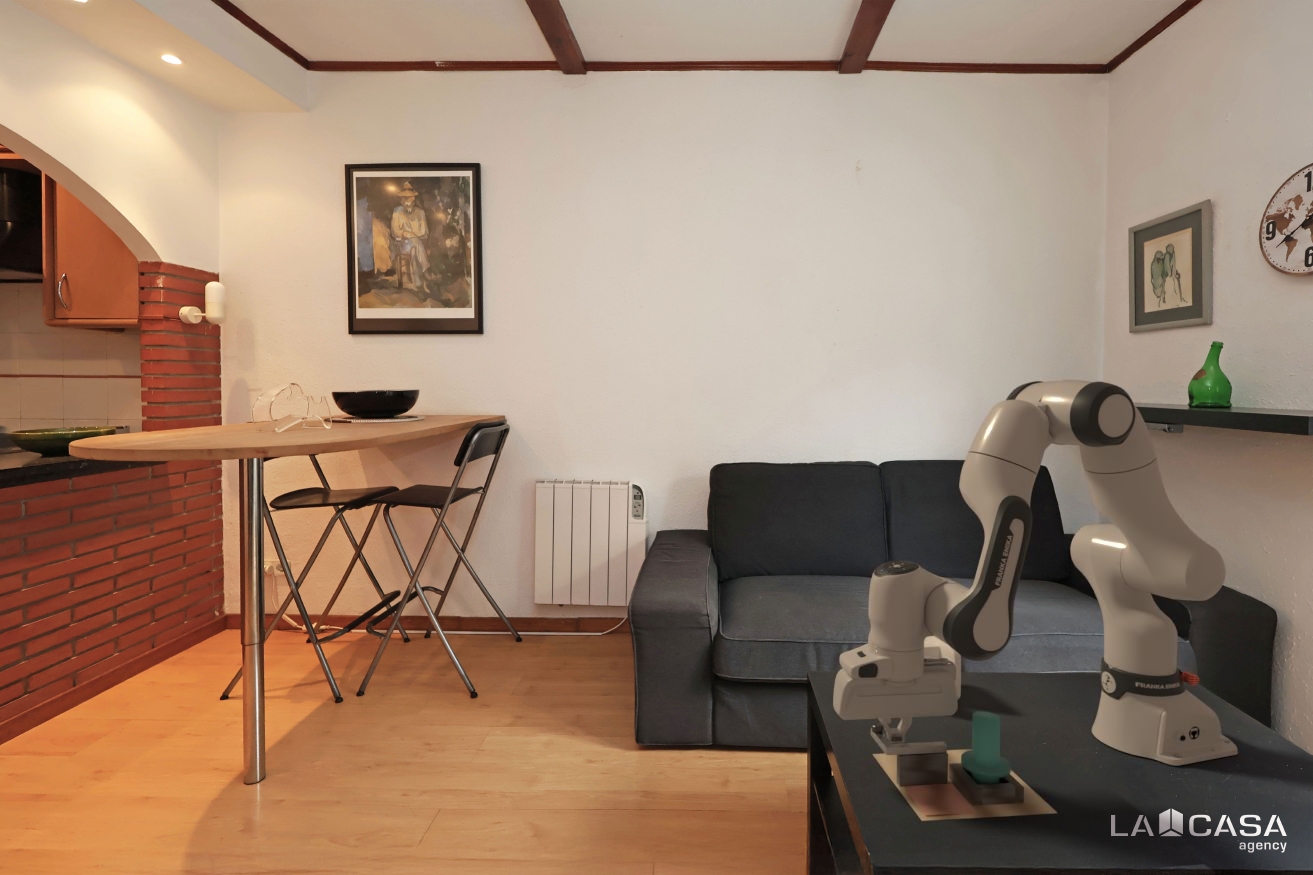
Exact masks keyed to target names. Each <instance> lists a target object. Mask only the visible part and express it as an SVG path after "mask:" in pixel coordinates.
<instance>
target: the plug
mask: <svg viewBox="0 0 1313 875" xmlns="http://www.w3.org/2000/svg"><path fill="white" fill-rule="evenodd" d="M971 723H972V724H971V725H972V730H971V731H972V732H971V734H972V736H971V737H972V738H971V749H972V750H970V751H966V752H964V753H963V754H962V755H961V764H962V766H963V767H964V768H965V769H967V770H968V771H970V772H972V779H973V780H974V781H975V782H976V783H977V784H978V785H981V784H999V778H1001V777H1005V776H1007V775H1009V774H1010V772H1011V770H1012V769H1011V768H1012V765H1011V762H1010V761H1009V760H1008V759H1007V758H1006V757H1004V756H1002V755H1001V750H1000V749H1001V746H1000V745H1001V718H1000V716H999V715H997V714H995V713H993V712H991V711H990V712H989V711H984V710H983V711H979V710H978V711H975V712H973V713H972V721H971Z"/></svg>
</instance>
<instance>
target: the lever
mask: <svg viewBox="0 0 1313 875" xmlns="http://www.w3.org/2000/svg"><path fill="white" fill-rule="evenodd" d="M870 736H871V737H872V738H873V740H874V741H875V743H877V745H878V747H879V748H880V749H881V750H882V751H883V754H886V755H901V754H921V753H941V752H947V750H948V744H946V742H945V741H944V740H943V741H926V742H925V741H924V742H922V741H921V742H906V743H905V742H901V743H891V742H890V741H889V740H888V738H887V737H886V736H885V732H884V728H883V726H882V724H881V723H880V722H879V723H878V722H873V723H871V727H870Z"/></svg>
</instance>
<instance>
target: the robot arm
mask: <svg viewBox="0 0 1313 875" xmlns="http://www.w3.org/2000/svg"><path fill="white" fill-rule="evenodd" d="M971 442H972V443H971V445H970V448H969V450H968V452H967V454H966V457H965V460H964V462H963V463H962V464H963V465H962V467H961V468H962V469H961V472H960V477H959V483H958V484H959V488H958V489H959V491H960V493H961V496H962V498H963V500H964V502H965V503H966V504H967V505H968V507H969V508H970V509H971V510H972V511H973V512H974V514H975V516H977V517H978V519H979V521H980V523H981V524H982V527H983V531H984V541H983V546H982V550H981V554H980V558H979V560H978V566H977V570H976V573H975V575H974V580H973V583H972V586H971V587H967V586H965V585H963V584H961V583H959V582H956V581H954V580H951V579H949V578H946V577H942V576H939V575H937V574H934V573H932V572H930V571H928V570H926V569H925V568H923V567H922V566H921V565H920V564H918V563H917V562H914V561H910V560H892V561H887V562H884V563H882V564H880V565H878V566H877V567H876V568H875V569H874V571H873V573H872V575H871V579H870V584H869V592H868V595H869V596H868V611H867V612H868V613H867V614H868V619H869V622H870V631H869V633H868V638H867V642H868V643H865V644H863V645H861V646H858V647H856V648H853V649H850V650H847V651H844V652H842V653H841V654H840V655H839V658H838V659H839V664H840V666H841V667H842V668H841V669H840V670H839V671H837V673H836V677H835V680H834V687H833V694H832V695H833V698H832V700H833V701H832V703H833V704H832V705H833V710H834V712H835V713H836V714H837V715H838V716H839V717H840V718H841V719H842V720H844V721H849V720H850V721H852V720H872V719H874V720H875V719H878V721H879V723H880V724H882V726H883V730H884V735H885V736H886V737H887V738H888V740H889V741H890V742H891V743H892V744H894V743H905V742H906V733H907V732H908V730H909V728H910V727H911V726H912V724H913V718H915V717H916V718H917V717H918V718H919V717H921V718H923V717H940V716H941V717H942V716H944V717H945V716H953V715H954V714H955V713H956V712H957V711H958V705H959V704H958V699H957V692H956V686H955V680H956V666H955V664H954V663H953V662H952V661H949V660H948V659H947V658H939V659H932V658H924V640H925V638H926V637H929V636H935V637H936V638H938V639H940V640H941V641H943V642H945V643H946V644H948V645H949V646H950V647H951V648H952V649H954V650H955V651H956V652H957V653H959V654H960V655H961V657H963V658H965V659H967V660H968V661H969V660H970V661H974V662H982V661H987V660H989V659H992V658H994V657H996V656H998V654H1000V653H1002V651H1003V650H1004V649H1005V648H1006V647H1007V646H1008V644H1009V642H1010V640H1011V638H1012V634H1013V631H1014V630H1013V629H1014V608H1015V607H1014V606H1015V600H1016V595H1017V592H1018V586H1019V584H1020V579H1021V575H1022V571H1023V568H1024V564H1025V563H1024V562H1025V559H1026V555H1027V551H1028V546H1029V543H1030V538H1031V533H1032V528H1033V512H1032V509H1031V499H1032V492H1033V488H1034V485H1035V481H1036V478H1037V476H1038V473H1039V471H1040V468H1041V465H1042V461H1043V458H1044V454H1045V451H1046V450H1047V449H1048V447H1049V446H1050V445H1059V446H1065V445H1069V446H1079V452H1080V459H1081V463H1082V467H1083V470H1084V475H1085V479H1086V483H1087V487H1088V488H1087V489H1088V491H1089V495H1090V499H1091V502H1092V504H1093V507H1094V508H1095V510H1096V511H1097V512H1098V513H1099V514H1100V515H1101V516H1102V517H1104V518H1106V520H1109V521H1110V522H1111V523H1098V524H1097V523H1096V524H1095V523H1094V524H1087V525H1084V526H1082V527H1081V528H1080V529H1079V530H1077V531H1076V533H1075V534H1074V535H1073V538H1072V541H1071V544H1070V549H1069V550H1070V557H1071V561H1072V562H1073V565H1074V567H1075V568H1076V569H1078V571H1079V572H1080V573H1081V574H1082V575H1083V576H1084V577H1085V579H1086V580H1087V581H1088V583H1089V584H1090V586H1091V588H1092V589H1093V591H1094V592H1093V593H1094V594H1095V597H1096V599H1097V601H1098V604H1099V607H1100V611H1101V616H1102V620H1103V623H1102V624H1103V656H1102V658H1101V659H1100V674H1099V675H1100V677H1099V678H1100V685H1101V692H1100V693H1101V694H1100V699H1099V704H1098V708H1097V709H1098V710H1097V712H1096V717H1095V720H1094V722H1093V724H1092V727H1091V733H1092V734H1093V736H1094V737H1095V738H1096V739H1097V740H1099V741H1100V742H1102V743H1103V744H1105V745H1106V746H1109V747H1111V748H1112V749H1115V750H1117V751H1120V752H1122V753H1127V754H1130V755H1134V756H1138V757H1143V758H1148V759H1152V760H1156V761H1158V762H1162V763H1163V764H1166V765H1170V766H1178V767H1179V766H1183V765H1189V764H1194V763H1200V762H1204V761H1210V760H1215V759H1220V758H1224V757H1229V756H1236V755H1238V754H1239V750H1238V747H1237V745H1236V744H1235V743H1234V742H1233V741H1232V739H1229V738H1228V737H1226V736H1225V735H1224V734H1222V728H1221V723H1220V720H1219V717H1218V715H1217V713H1216V712H1215V711H1214V710H1213V709H1212V708H1211V707H1210V706H1208V705H1207V704H1205V702H1203V701H1202V700H1200V699H1199V698H1198V697H1196V696H1195V695H1194V694H1192V693H1191V692H1190V691H1189V690H1187V689H1186V686H1185V684H1184V683H1187V684H1188V685H1190V686H1193V687H1195V686H1197V685H1198V684H1199V683H1200V677H1199V676H1198V675H1197V674H1195V673H1192V671H1182V670H1181V669H1180V668H1178V667H1177V665H1178V664H1177V663H1178V662H1177V658H1178V630H1177V628H1176V625H1175V623H1174V622H1173V620H1172V619H1171V618H1170V617H1169V616H1168V615H1166V614H1165V613H1164V612H1163V611H1162V610H1161V609H1160V607H1159V606H1158V605H1157V604H1156V602H1155V601H1154V598H1153V596H1152V595H1156V596H1159V597H1164V598H1168V599H1171V600H1182V601H1195V602H1196V601H1198V602H1199V601H1201V602H1202V601H1207V600H1209V599H1211V598H1212V597H1214V596H1215V595H1217V593H1218V592H1219V591H1220V589H1221V588H1222V587H1223V585H1224V583H1225V580H1226V573H1227V572H1226V571H1227V570H1226V565H1225V562H1224V559H1223V557H1222V554H1220V552H1219V551H1218V550H1217V548H1215V547H1214V546H1212V545H1210V544H1209V543H1207V542H1206V541H1204V540H1203V539H1202V538H1200V537H1199V535H1197V534H1196V533H1195V532H1194V531H1193V530H1192V529H1191V528H1190V527H1189V526H1188V524H1186V522H1185V521H1184V520H1183V519H1182V518H1181V516H1180V515H1179V513H1178V512H1177V510H1176V509H1175V507H1174V506H1173V504H1172V503H1171V500H1170V499H1169V497H1168V495H1167V492H1166V489H1165V486H1164V482H1163V478H1162V475H1161V470H1160V466H1159V464H1158V460H1157V455H1156V451H1155V450H1156V449H1155V447H1154V444H1153V440H1152V436H1151V434H1150V431H1149V429H1148V427H1147V425H1146V423H1145V420H1144V418H1143V415H1142V414H1141V412H1140V410H1139V409H1138V407H1136V405H1135V404H1134V402H1133V400H1132V398H1131V396H1130V394H1129V393H1128V392H1127V391H1126V390H1125V389H1124V388H1122V387H1120V386H1119V385H1116V384H1113V383H1110V382H1105V381H1088V380H1087V381H1086V380H1079V379H1062V380H1051V381H1041V380H1040V381H1039V380H1034V381H1031V382H1027V383H1023V384H1021V385H1018V386H1017V387H1016V388H1014V389H1013V390H1012V391H1011V392H1010V393H1009V394H1008V396H1007V398H1006V399H1005V400H1001V401H1000V402H997V403H996V404H995V405H994V406H993V407H991V409H990V411H989V413H988V414H987V415H986V417H985V418H984V419H983V422H982V423H981V425H980V426H979V429H978V430H977V433H976V434H975V436H974V439H973V440H972V441H971ZM948 663H950V664H948ZM893 718H900V721H899V723H898V724H897V727H890V726H889V725H891V723H892V719H893Z"/></svg>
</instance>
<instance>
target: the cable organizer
mask: <svg viewBox="0 0 1313 875" xmlns="http://www.w3.org/2000/svg"><path fill="white" fill-rule="evenodd" d="M924 658H932V659H939V658H947V659H948V660H949V661H952V662H953V663H954V664H955V666H956V680H955V686H956V692H957V700H959V699H960V698H961V692H962V691H961V690H962V688H961V686H962V682H961V681H962V656H961V655H960V654H959V653H957V652H956V651H955V650H954V649H952V648H951V647H950V646H949V645H948V644H946V643H945V642H943V641H941V640H940V639H938V638H936V637H935V636H929V637H926V638H925V640H924ZM948 664H950V663H948Z"/></svg>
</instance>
